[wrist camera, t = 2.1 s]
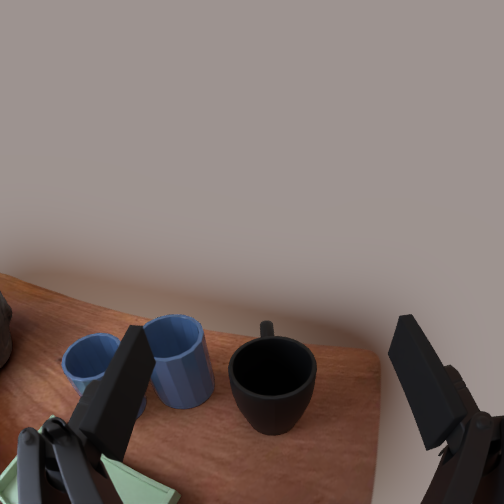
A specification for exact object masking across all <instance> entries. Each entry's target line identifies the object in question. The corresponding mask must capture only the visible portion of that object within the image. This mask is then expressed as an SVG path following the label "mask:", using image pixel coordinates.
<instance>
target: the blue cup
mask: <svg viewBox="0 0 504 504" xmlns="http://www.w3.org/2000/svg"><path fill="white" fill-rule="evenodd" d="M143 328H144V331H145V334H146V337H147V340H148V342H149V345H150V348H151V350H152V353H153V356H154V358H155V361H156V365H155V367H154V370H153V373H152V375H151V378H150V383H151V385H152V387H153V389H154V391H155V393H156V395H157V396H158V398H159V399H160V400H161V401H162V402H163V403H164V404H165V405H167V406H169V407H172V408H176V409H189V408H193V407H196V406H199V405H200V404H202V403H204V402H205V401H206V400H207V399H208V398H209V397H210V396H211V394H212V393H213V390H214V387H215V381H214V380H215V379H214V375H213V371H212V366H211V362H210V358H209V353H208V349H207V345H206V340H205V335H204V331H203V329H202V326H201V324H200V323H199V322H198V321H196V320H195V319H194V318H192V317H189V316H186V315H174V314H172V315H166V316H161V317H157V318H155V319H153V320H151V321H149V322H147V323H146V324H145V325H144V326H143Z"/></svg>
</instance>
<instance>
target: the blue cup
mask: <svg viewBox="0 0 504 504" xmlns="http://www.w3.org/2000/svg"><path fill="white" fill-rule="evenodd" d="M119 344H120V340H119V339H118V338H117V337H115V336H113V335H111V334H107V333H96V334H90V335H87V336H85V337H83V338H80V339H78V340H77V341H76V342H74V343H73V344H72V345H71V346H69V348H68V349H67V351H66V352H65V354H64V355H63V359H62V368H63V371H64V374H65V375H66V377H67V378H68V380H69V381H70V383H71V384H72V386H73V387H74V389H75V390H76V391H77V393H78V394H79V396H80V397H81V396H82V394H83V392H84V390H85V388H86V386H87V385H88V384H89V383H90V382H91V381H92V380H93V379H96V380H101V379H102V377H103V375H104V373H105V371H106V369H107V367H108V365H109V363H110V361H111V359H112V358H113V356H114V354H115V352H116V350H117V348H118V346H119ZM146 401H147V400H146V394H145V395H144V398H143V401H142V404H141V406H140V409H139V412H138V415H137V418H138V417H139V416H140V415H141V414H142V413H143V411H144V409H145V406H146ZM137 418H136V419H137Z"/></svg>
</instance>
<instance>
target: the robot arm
mask: <svg viewBox="0 0 504 504" xmlns="http://www.w3.org/2000/svg"><path fill="white" fill-rule="evenodd" d="M388 355H389V358H390V360H391V362H392V364H393V366H394V369H395V371H396V373H397V376H398V378H399V381H400V383H401V385H402V388H403V390H404V392H405V395H406V397H407V400H408V402H409V405H410V407H411V410H412V413H413V415H414V418H415V420H416V423H417V426H418V428H419V431H420V434H421V437H422V440H423V442H424V445H425V448H426V450H430V449H433V448H436V447H438V446H440V445H441V444H442V443H443V442H444V441H445V440H446V441H447V444H448V445H447V446H446V447H445V448H444V449H443V450H442V451H441V452H440V453H439V455H438V456H441V455H442V454H443V455H442V458H441V461H440V463H439V465H438V468H437V470H436V472H435V475H434V477H433V479H432V481H431V484H430V486H429V488H428V490H427V492H426V494H425V496H424V498H423V500H422V502H421V504H504V416H496V417H491V416H490V414H488V413H486V412H483V411H480V410H479V408H478V406H477V405H476V403H475V401H474V399H473V397H472V395H471V393H470V392H469V390H468V388H467V387H466V384H465V382H464V381H463V380H462V377H461V375H460V374H459V372H458V371H457V370H456V369H455V368H454V367H452V366H451V365H447V366H443V364H442V362H441V361H440V359H439V357H438V356H437V354H436V352H435V350H434V349H433V347H432V345H431V344H430V342H429V341H428V339H427V337H426V336H425V334H424V333H423V331H422V329H421V328H420V326H419V325H418V323H417V321H416V320H415V319H414V317H413V315H412V314H409V315H402V316H399V319H398V323H397V326H396V330H395V333H394V336H393V339H392V342H391V346H390V349H389V352H388ZM155 365H156V361H155V358H154V356H153V353H152V350H151V348H150V345H149V342H148V340H147V337H146V334H145V331H144V328H143V326H135V325H130V326H129V328H128V330H127V331H126V333H125V335H124V337H123V339H122V341H121V342H120V344H119V346H118V348H117V350H116V352H115V354H114V356H113V358H112V359H111V361H110V363H109V365H108V367H107V369H106V371H105V373H104V375H103V377H102V379H101V380H96V379H93V380H92V381H91V382H90V383H89V384H88V385H87V386H86V388H85V390H84V392H83V394H82V396H81V398H80V400H79V403H78V404H77V406H76V408H75V410H74V412H73V414H72V416H71V418H70V420H69V422H68V424H66V423H65V421H64V420H62V419H61V418H58V417H53V418H50V419H48V420H46V422H45V423H44V424H43V426H42V434H40V433H39V432H38V431H37V430H35V429H34V428H31V427H28V428H25V429H23V430H22V431H21V433H20V434H19V437H18V450H17V489H18V504H124V503H123V501H122V500H121V498H120V496H119V494H118V492H117V490H116V488H115V486H114V484H113V482H112V480H111V478H110V476H109V474H108V472H107V470H106V468H105V466H104V463H103V461H102V460H101V459H100V458H101V455H102V454H103V455H104V456H105V457H106V458H108V459H111V460H114V461H118V462H123V458H124V455H125V452H126V449H127V446H128V443H129V439H130V436H131V433H132V430H133V427H134V424H135V421H136V418H137V415H138V412H139V409H140V406H141V404H142V401H143V398H144V395H145V392H146V389H147V386H148V384H149V381H150V378H151V375H152V373H153V370H154V367H155Z"/></svg>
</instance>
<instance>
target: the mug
mask: <svg viewBox="0 0 504 504" xmlns="http://www.w3.org/2000/svg"><path fill="white" fill-rule="evenodd" d="M260 334H261V338H257V339H253V340H251V341H249V342H247V343H245V344H244V345H242V346H241V347H239V348H238V349H237V350H236V351H235V352H234V354H233V355H232V357H231V359H230V362H229V366H228V372H229V379H230V384H231V389H232V393H233V396H234V398H235V401H236V403H237V406H238V408H239V409H240V411H241V413H242V414H243V415H244V417H245V418H246V419H247V420H248V422H249V423H250V424H251V425H252V426H253V428H254V429H255V430H257V431H258V432H260V433H262V434H266V435H280V434H283V433H286V432H287V431H289V430H290V429H291V428H292V427H293V426H294V425H295V423H296V422H297V421H298V420H299V419H300V417H301V416H302V414H303V413H304V411H305V410H306V408H307V406H308V404H309V402H310V400H311V397H312V394H313V390H314V385H315V378H316V372H317V365H316V360H315V357H314V355H313V353H312V352H311V351H310V349H309V348H307V347H306V346H305V345H304V344H302V343H300V342H298V341H296V340H294V339H291V338H287V337H280V336H274V329H273V323H272V322H271V321H263V322H261V324H260Z"/></svg>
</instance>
